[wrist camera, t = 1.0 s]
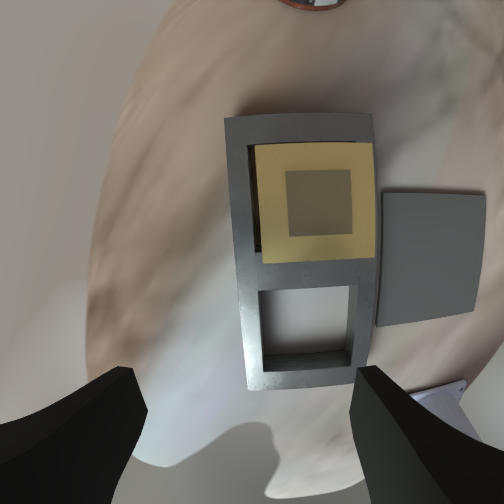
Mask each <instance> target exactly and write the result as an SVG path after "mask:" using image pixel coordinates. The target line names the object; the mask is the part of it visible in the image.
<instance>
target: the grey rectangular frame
mask: <svg viewBox="0 0 504 504" xmlns="http://www.w3.org/2000/svg"><path fill="white" fill-rule="evenodd" d="M224 125H225V140H226V154H227V167H228V180H229V193H230V206H231V218H232V230H233V241H234V253H235V264H236V275H237V286H238V296H239V307H240V317H241V327H242V337H243V346H244V356H245V365H246V375H247V384H248V390H278V389H299V388H313V387H324V386H334V385H343V384H352V383H355V378H356V371H357V368H358V367H366V364H367V357H368V351H369V343H370V336H371V327H372V319H373V309H374V298H375V285H376V268H377V241H378V200H377V173H376V157H375V144H374V133H373V124H372V115H371V114H362V113H330V112H311V113H279V114H262V115H249V116H238V117H229V118H224ZM322 142H347V143H372V148H373V162H374V181H375V257H373V258H356V259H339V260H322V261H303V262H285V263H265V264H263V259H262V244H260V245H257V241H256V227H255V212H254V198H253V185H252V171H251V157H250V149H254V148H255V145H269V144H287V143H322ZM347 285H349V303H348V319H347V332H346V344H345V350H341V351H331V352H319V353H305V354H288V355H264V344H263V329H262V314H261V299H260V291H262V290H283V289H301V288H318V287H333V286H347Z"/></svg>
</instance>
